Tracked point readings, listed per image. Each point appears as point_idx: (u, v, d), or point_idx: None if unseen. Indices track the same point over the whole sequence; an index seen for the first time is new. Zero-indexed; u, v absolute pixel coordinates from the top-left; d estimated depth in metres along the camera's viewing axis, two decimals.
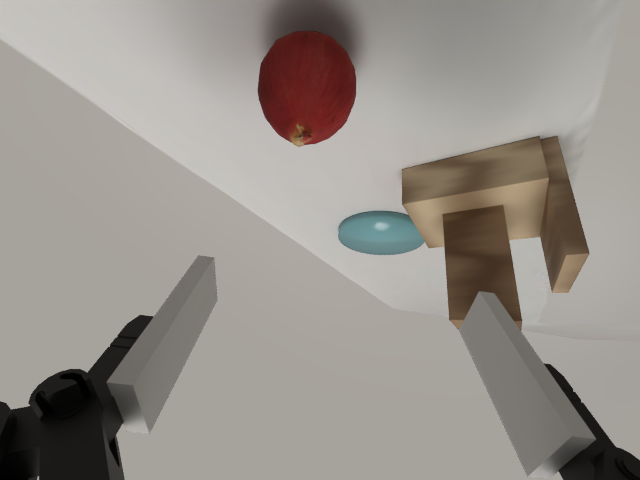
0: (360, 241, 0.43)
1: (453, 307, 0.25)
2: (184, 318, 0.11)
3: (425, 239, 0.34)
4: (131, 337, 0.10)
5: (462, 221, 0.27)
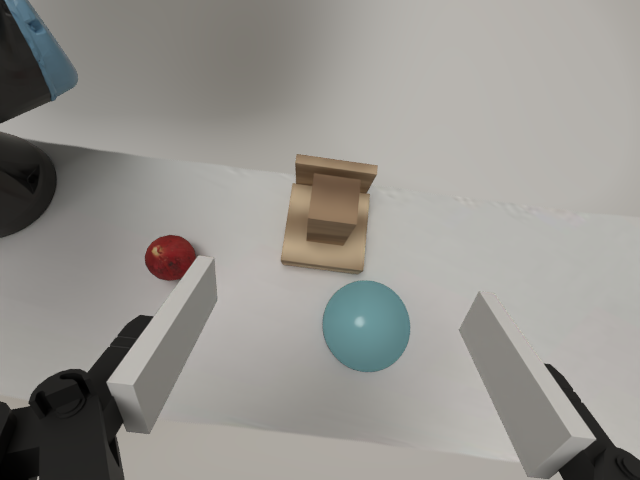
0: (364, 347, 0.39)
1: None
2: (184, 318, 0.11)
3: (343, 266, 0.39)
4: (131, 337, 0.10)
5: None
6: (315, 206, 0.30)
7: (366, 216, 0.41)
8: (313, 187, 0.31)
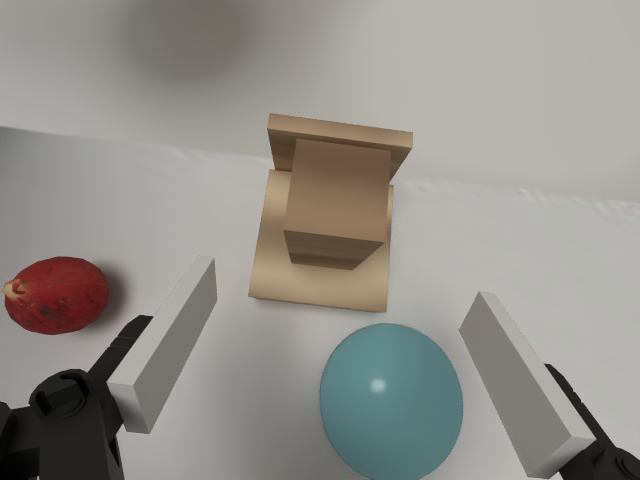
0: (390, 439, 0.24)
1: None
2: (184, 319, 0.11)
3: (353, 305, 0.23)
4: (131, 337, 0.10)
5: None
6: (298, 205, 0.14)
7: (389, 220, 0.25)
8: (295, 166, 0.15)
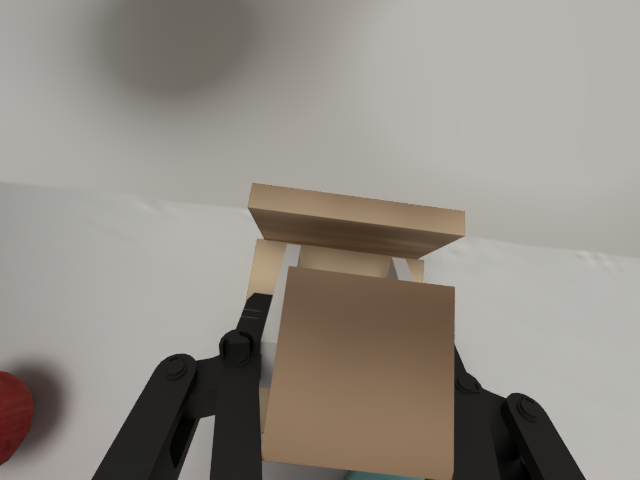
0: None
1: None
2: None
3: None
4: (255, 310, 0.12)
5: None
6: (290, 404, 0.08)
7: None
8: (285, 322, 0.08)
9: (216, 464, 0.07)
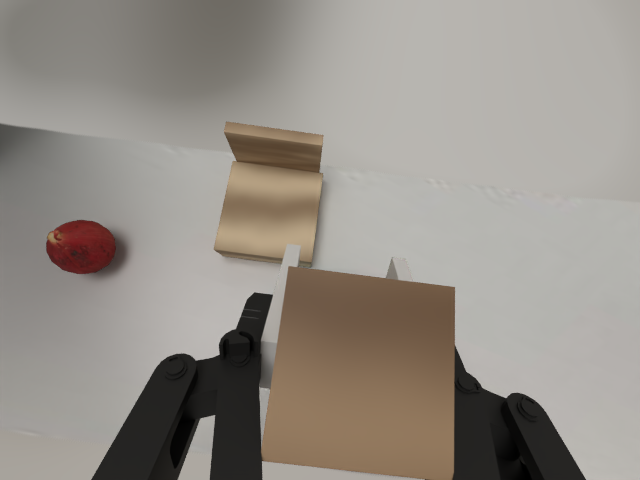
0: None
1: None
2: None
3: None
4: (255, 310, 0.12)
5: None
6: (290, 405, 0.08)
7: (318, 198, 0.35)
8: (285, 322, 0.08)
9: (216, 464, 0.07)
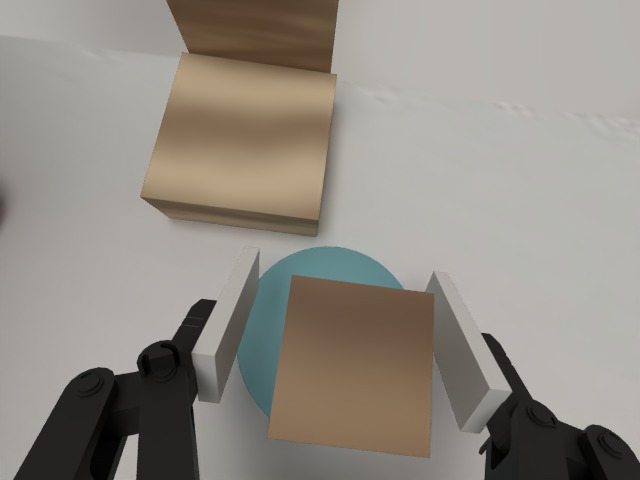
0: None
1: None
2: (241, 302, 0.12)
3: (276, 211, 0.18)
4: (198, 317, 0.12)
5: None
6: (292, 392, 0.09)
7: (329, 114, 0.20)
8: (288, 322, 0.10)
9: None
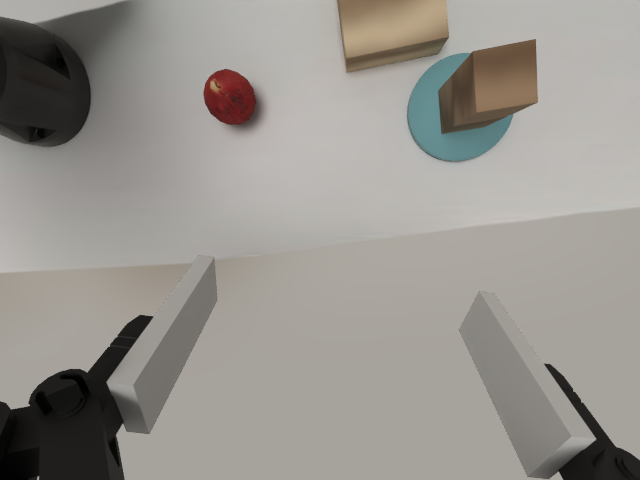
0: (462, 134, 0.35)
1: (471, 111, 0.27)
2: (184, 318, 0.11)
3: (423, 40, 0.32)
4: (131, 337, 0.10)
5: (443, 117, 0.34)
6: (482, 95, 0.26)
7: None
8: (475, 71, 0.25)
9: None
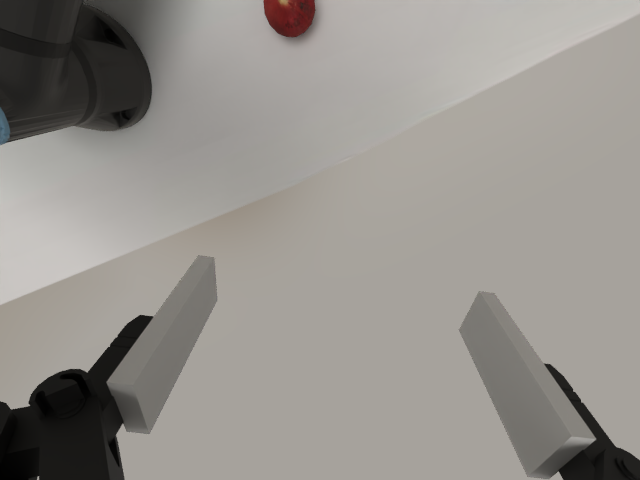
0: None
1: None
2: (184, 318, 0.11)
3: None
4: (131, 337, 0.10)
5: None
6: None
7: None
8: None
9: None
